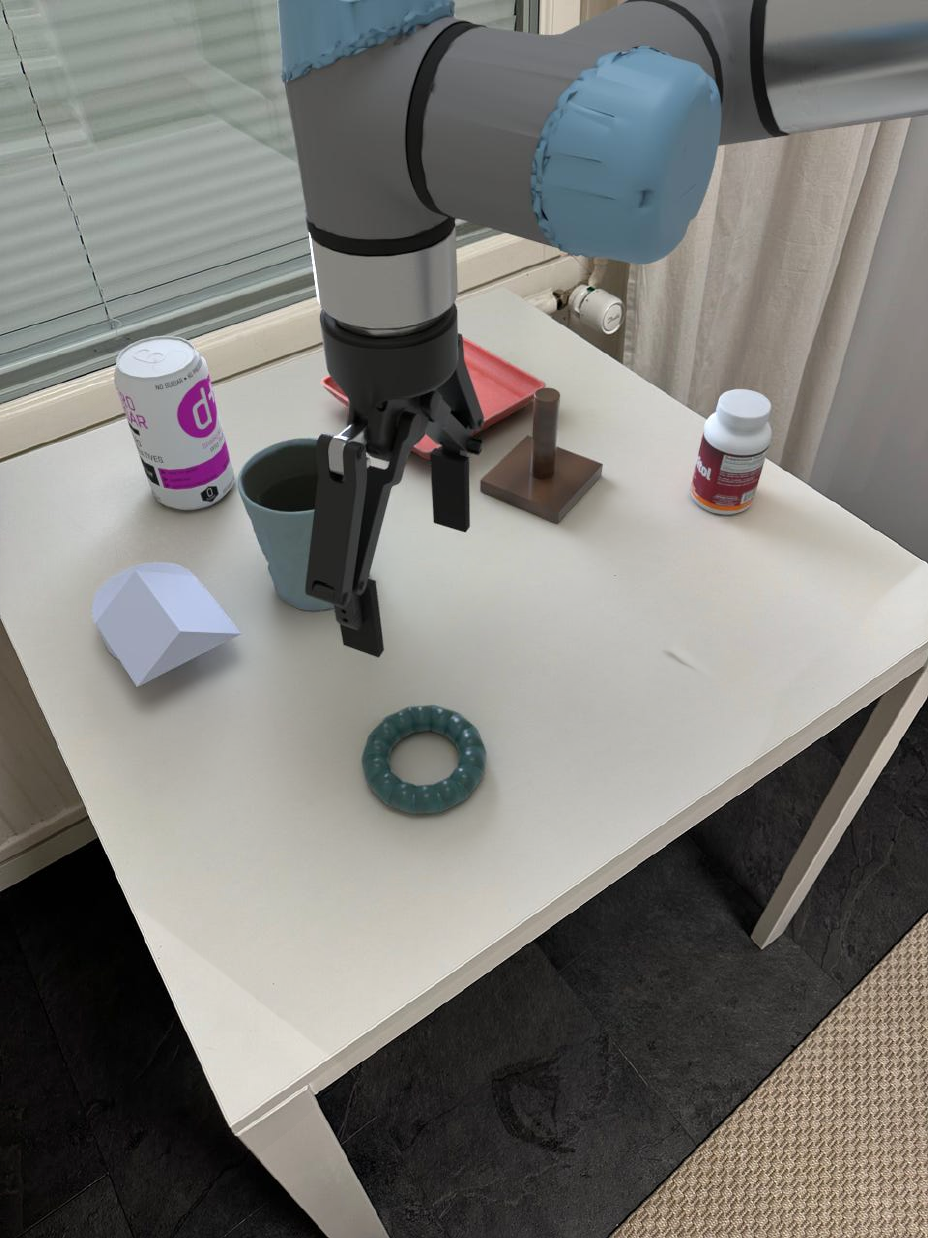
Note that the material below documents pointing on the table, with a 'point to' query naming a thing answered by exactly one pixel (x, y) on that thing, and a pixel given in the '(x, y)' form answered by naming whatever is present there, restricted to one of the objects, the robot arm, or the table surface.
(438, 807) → the teal beaded ring
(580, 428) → the table surface
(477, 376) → the plant saucer
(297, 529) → the blue-grey embossed cup
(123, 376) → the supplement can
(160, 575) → the wedge on round base
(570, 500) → the stand
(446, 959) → the table surface
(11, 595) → the table surface
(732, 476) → the pill bottle
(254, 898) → the table surface
